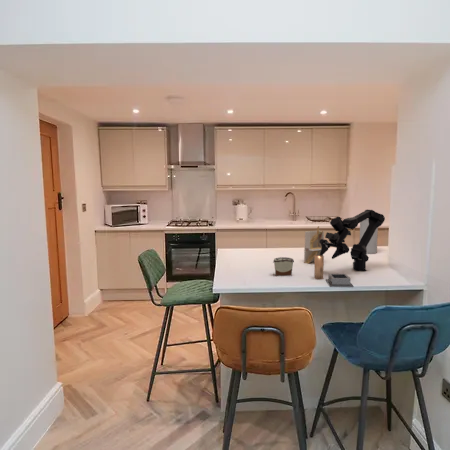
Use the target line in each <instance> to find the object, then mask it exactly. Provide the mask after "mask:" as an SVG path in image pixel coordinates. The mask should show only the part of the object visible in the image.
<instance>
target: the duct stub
mask: <svg viewBox="0 0 450 450" xmlns="http://www.w3.org/2000/svg"><path fill="white" fill-rule="evenodd" d="M351 280H352V279H351V278H350V276H349V275H348V274H347V273H328V278H325V281H326V283H327V284H328V286H329V287H330V288H354V285H353V284H352V282H351Z"/></svg>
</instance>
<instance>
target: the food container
mask: <svg viewBox="0 0 450 450" xmlns="http://www.w3.org/2000/svg"><path fill="white" fill-rule="evenodd" d="M294 263H295V260H294V258H291V257H286V256H285V257H284V256H280V257H276V258H274V259H273V262H272V264H274V273H275V277H290V276H291V277H292V274H293V267H294Z"/></svg>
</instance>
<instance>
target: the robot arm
mask: <svg viewBox="0 0 450 450" xmlns="http://www.w3.org/2000/svg"><path fill="white" fill-rule="evenodd" d="M366 219H369V220H368V221H369V225H368V227H367V229H366V231H365V233H364V234H363V236H362V238H361V240H360V239H359V240H360V242H358V243H357V244H356V243H354V244H353V245H352V247H351V248H350V247H349V246H348V245H347V243H345V241H346V240H345V239H346V238H347V236H352V233H351V230H354V229H356V228H357V227H358V226H359V225H360V222H362V221H364V220H366ZM385 220H386V219H385V215H384V214H383V213H382V214H381V213H380V212H376V211H375V210H373V209H365V210H364V211H362V212H360V213H359V214H357V215H355V216H353V217H347V218H344V219H343V220H342V218H341V217H340V216H336V217H335V218H332V219H331V220H330V222H329V224H330V225H331V227H332V228H333V230H334V231H335V232H334V233H332V232H326V233H325V235H324V236H325V237H324V239H321V240H320V241H319V242H320V244H321V246H322V247H321V252H320V255H323V256H324V254H325V253H326V252H328V251H329V249H330V248H331V247H333V248H336V249H335V250H334V253H333V254H332V256H331V259H332V260H334V259H336V258H338V257H339V256H342V255H344V254H348V253H349V251H350V257H351V259H352V260H353V262H352V269H353V270H354V271H355V272H366V271H367V269H366V267H367V266H366V264H367V263H366V262H368V261H369V258H370V257H369V256H368V254H366V252H367V250H366V247H367V245H368V243H369V241H370V239H371V238H372V236H373V234H374V232H375V230H376V229H377V228H378V229H379V227H381V226H382V225H383V224H384V222H385Z"/></svg>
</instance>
